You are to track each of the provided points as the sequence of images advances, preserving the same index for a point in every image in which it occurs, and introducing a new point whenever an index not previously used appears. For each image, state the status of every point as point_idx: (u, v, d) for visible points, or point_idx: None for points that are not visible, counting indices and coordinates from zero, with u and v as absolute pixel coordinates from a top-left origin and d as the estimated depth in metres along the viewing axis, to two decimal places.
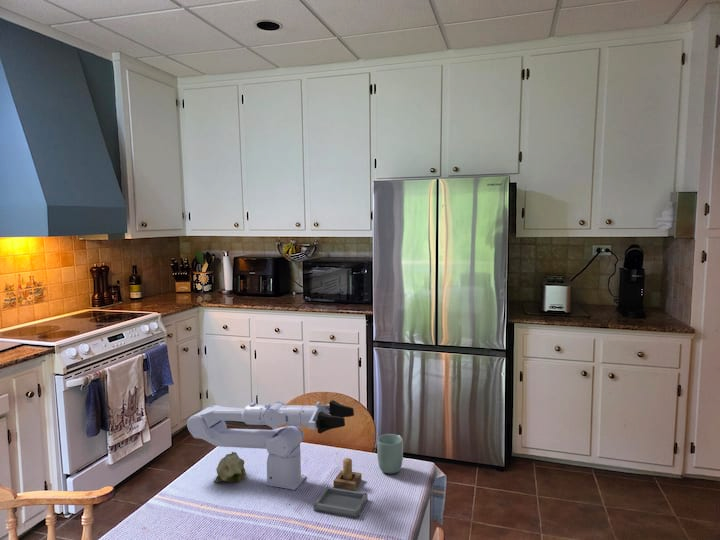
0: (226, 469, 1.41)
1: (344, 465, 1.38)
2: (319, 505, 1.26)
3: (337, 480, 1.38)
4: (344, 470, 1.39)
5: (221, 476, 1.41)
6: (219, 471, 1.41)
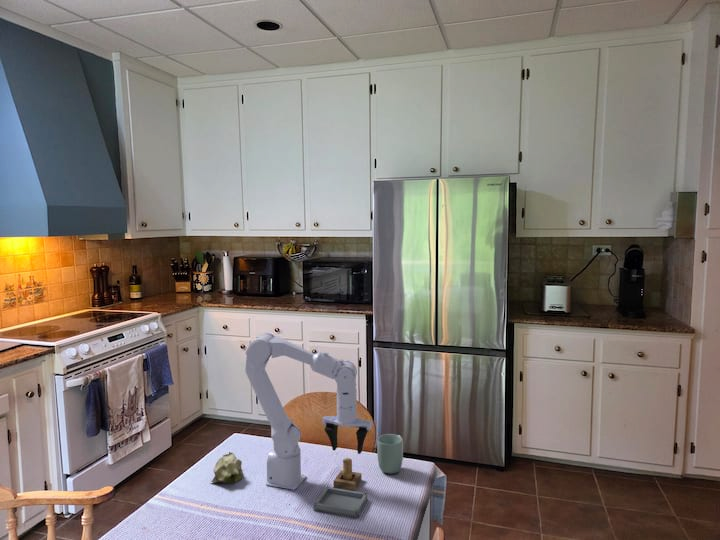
0: (223, 470, 1.40)
1: (344, 465, 1.38)
2: (319, 505, 1.26)
3: (337, 480, 1.38)
4: (344, 470, 1.39)
5: (218, 477, 1.40)
6: (216, 472, 1.41)
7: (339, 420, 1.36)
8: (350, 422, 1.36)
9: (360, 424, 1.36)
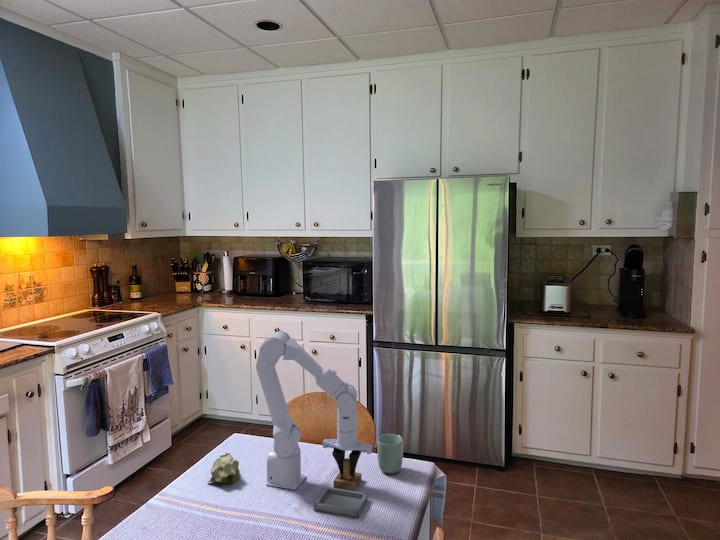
0: (220, 470, 1.40)
1: (344, 465, 1.38)
2: (319, 505, 1.26)
3: (337, 480, 1.38)
4: (344, 470, 1.39)
5: (215, 477, 1.40)
6: (213, 472, 1.40)
7: (339, 444, 1.37)
8: (350, 446, 1.36)
9: (360, 448, 1.36)
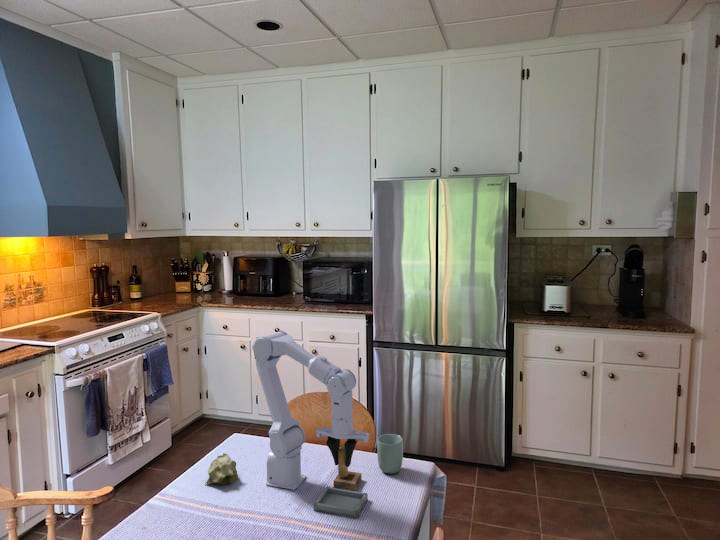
0: (218, 471, 1.40)
1: (340, 455, 1.29)
2: (319, 505, 1.26)
3: (337, 480, 1.38)
4: (339, 460, 1.30)
5: (213, 478, 1.40)
6: (211, 473, 1.40)
7: (334, 432, 1.28)
8: (346, 434, 1.27)
9: (356, 436, 1.27)
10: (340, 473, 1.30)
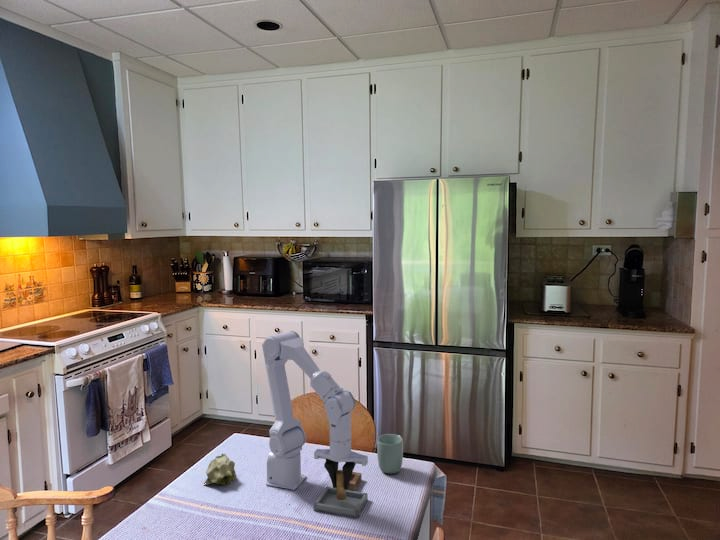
0: (216, 471, 1.40)
1: (338, 477, 1.27)
2: (319, 505, 1.26)
3: None
4: (337, 483, 1.27)
5: (211, 478, 1.39)
6: (209, 473, 1.40)
7: (332, 455, 1.26)
8: (344, 457, 1.25)
9: (355, 459, 1.25)
10: (338, 496, 1.28)
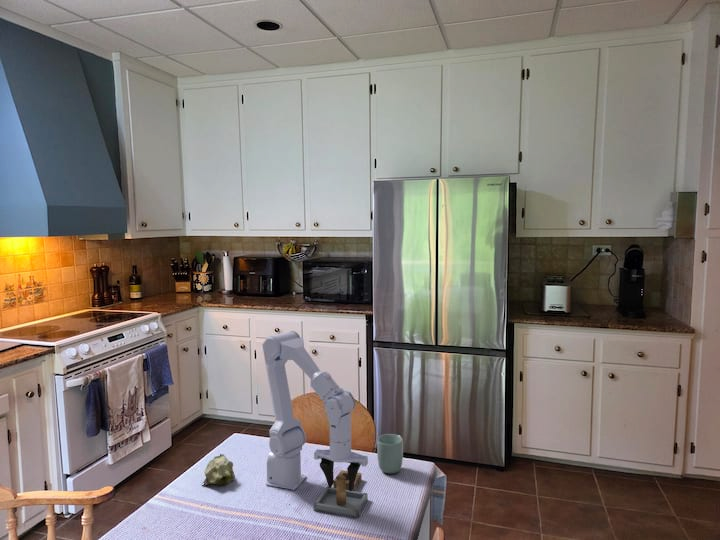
0: (214, 471, 1.39)
1: (338, 483, 1.27)
2: (319, 505, 1.26)
3: None
4: (337, 488, 1.28)
5: (209, 479, 1.39)
6: (207, 474, 1.40)
7: (332, 455, 1.26)
8: (344, 458, 1.25)
9: (355, 460, 1.25)
10: (338, 501, 1.28)
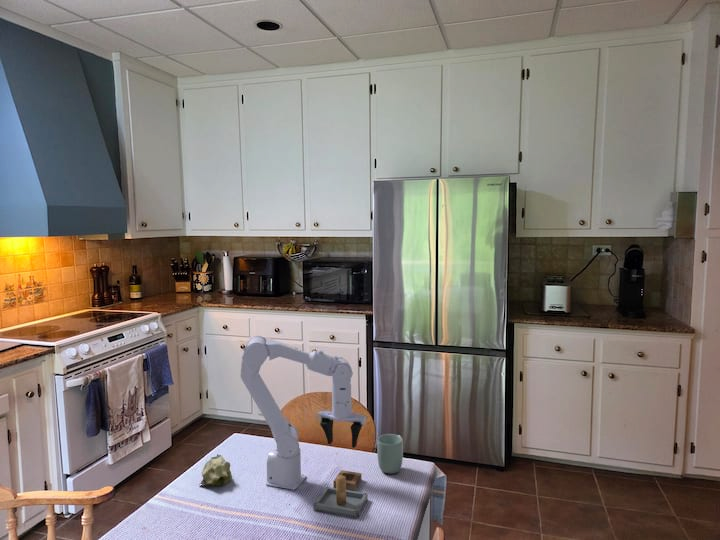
0: (212, 472, 1.39)
1: (338, 483, 1.27)
2: (319, 505, 1.26)
3: None
4: (337, 488, 1.28)
5: (207, 479, 1.39)
6: (204, 474, 1.39)
7: (334, 415, 1.40)
8: (345, 417, 1.40)
9: (354, 419, 1.39)
10: (338, 501, 1.28)
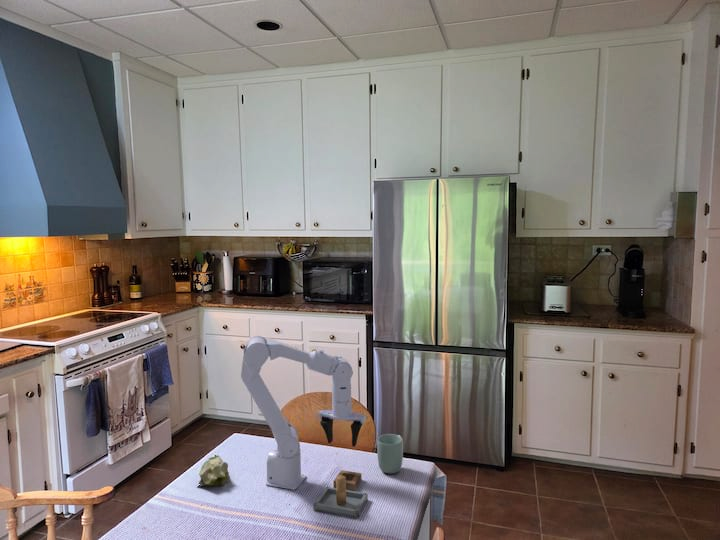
0: (209, 473, 1.39)
1: (338, 483, 1.27)
2: (319, 505, 1.26)
3: None
4: (337, 488, 1.28)
5: (204, 480, 1.39)
6: (202, 475, 1.39)
7: (334, 414, 1.41)
8: (345, 416, 1.40)
9: (354, 418, 1.40)
10: (338, 501, 1.28)
